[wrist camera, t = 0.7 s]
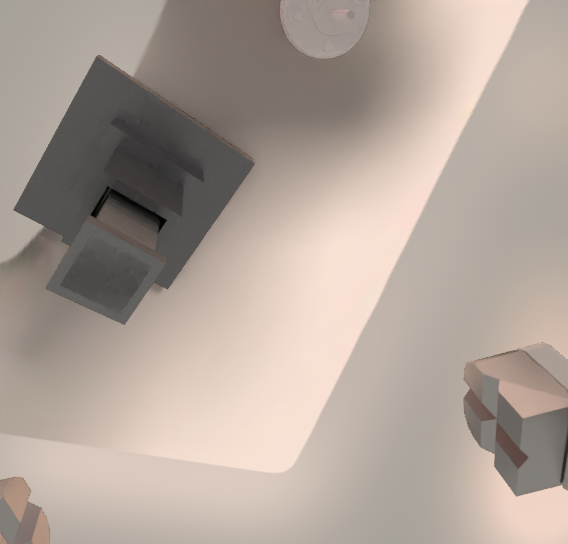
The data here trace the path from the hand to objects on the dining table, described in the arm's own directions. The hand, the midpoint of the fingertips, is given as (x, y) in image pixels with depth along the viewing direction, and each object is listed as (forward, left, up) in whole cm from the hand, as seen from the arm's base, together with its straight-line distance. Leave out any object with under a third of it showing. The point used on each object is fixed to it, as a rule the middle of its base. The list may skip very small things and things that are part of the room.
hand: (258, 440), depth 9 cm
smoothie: (-11, +3, -41) cm, 43 cm away
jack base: (+10, -1, -41) cm, 42 cm away
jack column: (+10, -1, -39) cm, 41 cm away
